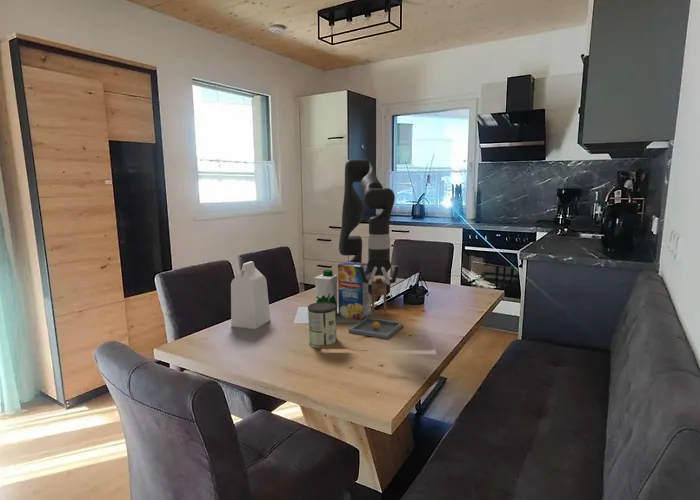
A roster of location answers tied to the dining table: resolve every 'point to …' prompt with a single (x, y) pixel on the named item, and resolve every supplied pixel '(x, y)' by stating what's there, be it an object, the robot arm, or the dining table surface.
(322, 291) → the milk carton
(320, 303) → the coffee can
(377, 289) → the wooden stool
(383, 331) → the tray
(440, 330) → the dining table surface
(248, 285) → the milk
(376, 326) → the ball
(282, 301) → the dining table surface
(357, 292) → the juice carton
